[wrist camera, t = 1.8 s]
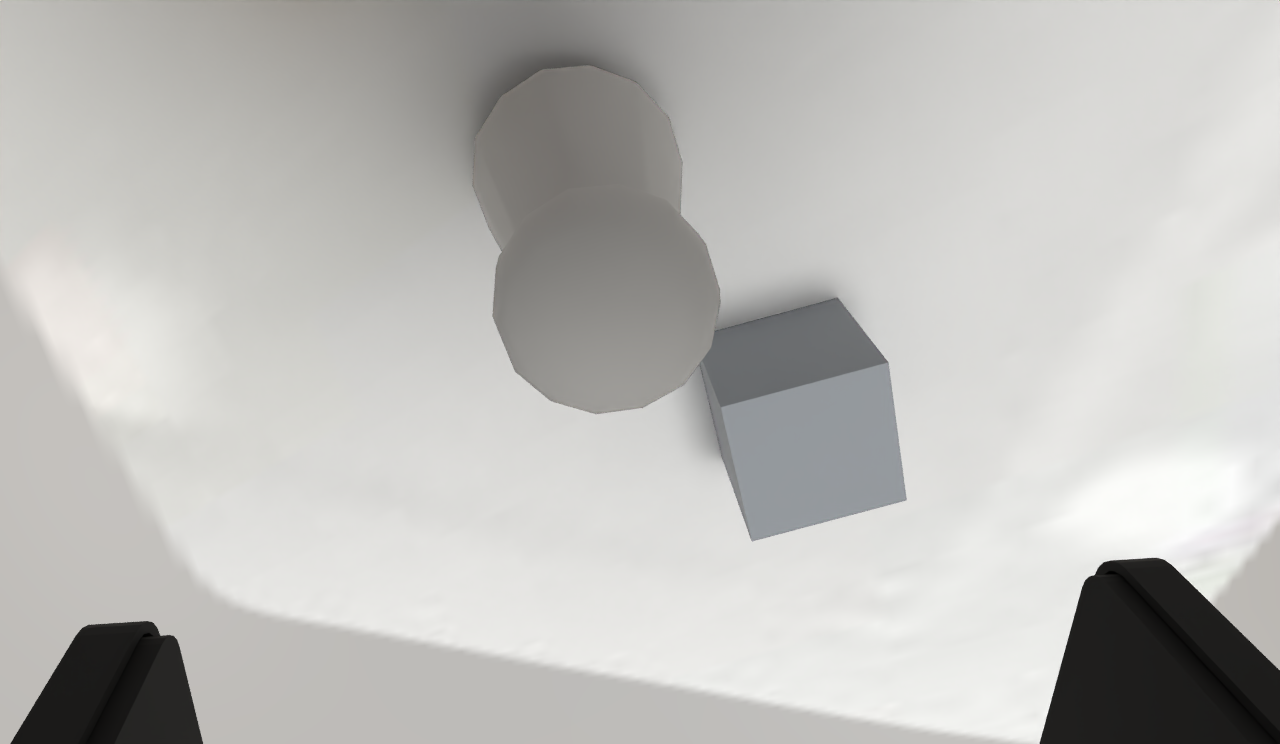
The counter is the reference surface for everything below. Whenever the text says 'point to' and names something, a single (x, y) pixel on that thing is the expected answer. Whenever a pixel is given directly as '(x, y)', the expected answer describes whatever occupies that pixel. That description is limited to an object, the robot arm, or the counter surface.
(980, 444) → the counter surface
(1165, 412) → the counter surface
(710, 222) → the counter surface
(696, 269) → the salt shaker
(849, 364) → the slate-grey block
